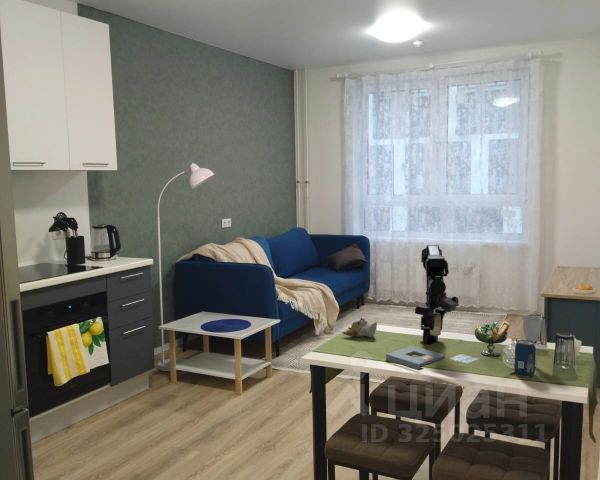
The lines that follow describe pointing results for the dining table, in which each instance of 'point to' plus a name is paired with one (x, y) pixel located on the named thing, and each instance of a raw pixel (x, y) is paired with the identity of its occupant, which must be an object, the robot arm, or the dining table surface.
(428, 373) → the dining table surface
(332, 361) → the dining table surface
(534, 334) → the chalice
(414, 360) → the hole plate
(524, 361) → the soda can
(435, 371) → the dining table surface
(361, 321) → the ceramic sculpture
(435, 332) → the peg
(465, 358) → the plate
